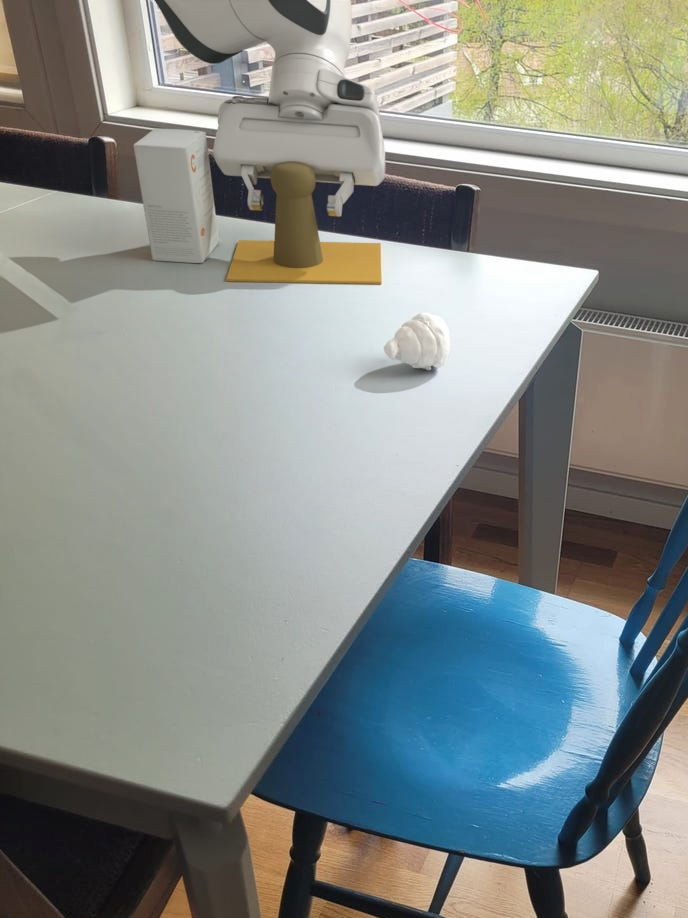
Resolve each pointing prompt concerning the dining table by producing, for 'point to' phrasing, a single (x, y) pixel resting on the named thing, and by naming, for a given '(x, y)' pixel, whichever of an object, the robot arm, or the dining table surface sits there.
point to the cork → (295, 216)
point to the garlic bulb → (421, 342)
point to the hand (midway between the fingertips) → (294, 210)
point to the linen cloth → (337, 267)
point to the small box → (177, 194)
